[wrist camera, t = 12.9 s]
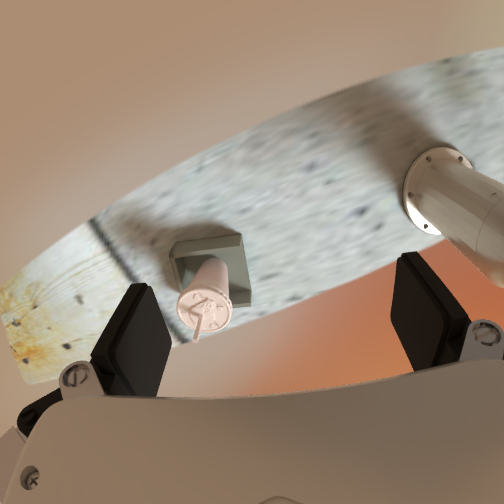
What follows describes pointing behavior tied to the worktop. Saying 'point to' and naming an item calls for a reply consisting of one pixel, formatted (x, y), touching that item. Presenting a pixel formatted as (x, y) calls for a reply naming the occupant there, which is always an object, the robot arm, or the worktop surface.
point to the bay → (225, 248)
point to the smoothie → (206, 299)
